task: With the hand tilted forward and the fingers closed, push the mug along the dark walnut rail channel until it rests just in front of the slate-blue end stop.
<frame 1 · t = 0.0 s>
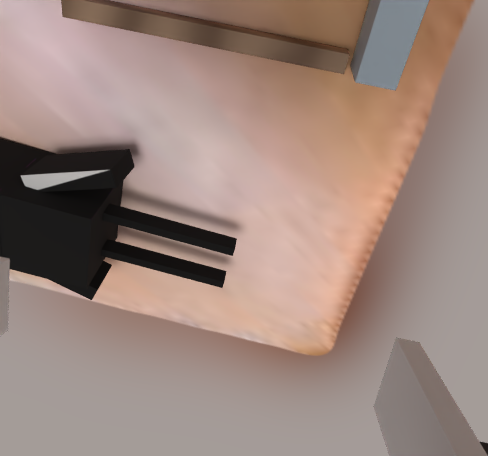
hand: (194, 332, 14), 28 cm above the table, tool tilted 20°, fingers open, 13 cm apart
black power adapter: (104, 197, 46), on the table
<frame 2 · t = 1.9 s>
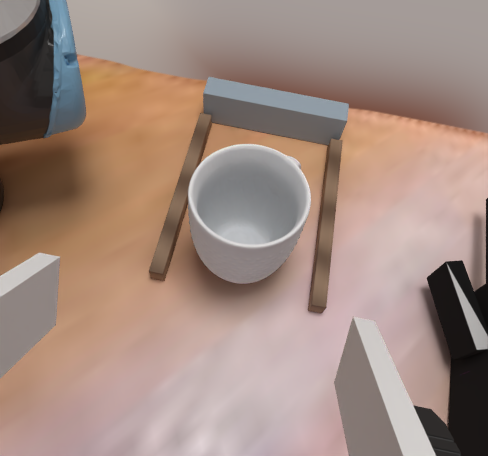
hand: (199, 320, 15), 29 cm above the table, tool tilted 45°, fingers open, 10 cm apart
black power adapter: (487, 332, 46), on the table
mug: (245, 248, 49), on the table
channel: (261, 172, 54), on the table
stop: (271, 125, 58), on the table
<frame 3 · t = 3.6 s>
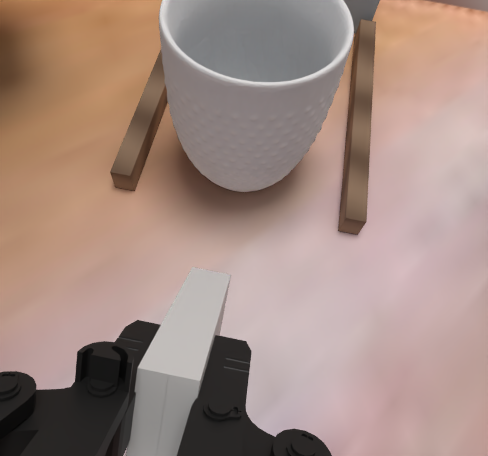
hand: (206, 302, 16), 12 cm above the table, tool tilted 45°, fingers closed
mug: (249, 152, 35), on the table
channel: (269, 61, 40), on the table
stop: (280, 10, 44), on the table
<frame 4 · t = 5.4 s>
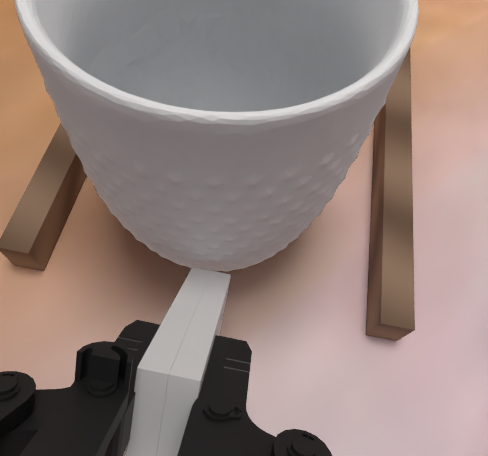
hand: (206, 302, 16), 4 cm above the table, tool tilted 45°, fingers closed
mug: (228, 200, 24), on the table, touching gripper
channel: (259, 65, 29), on the table
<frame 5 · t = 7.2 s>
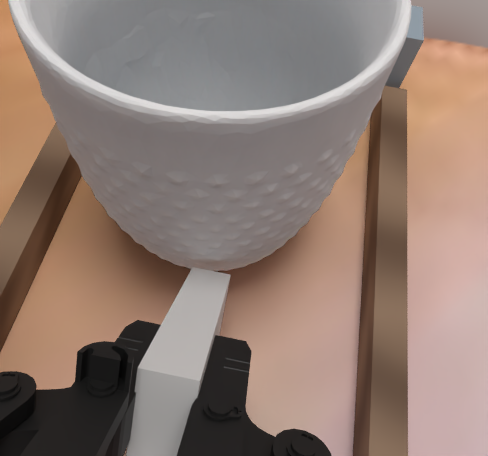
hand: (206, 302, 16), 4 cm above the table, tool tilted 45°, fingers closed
mug: (224, 199, 24), on the table, touching gripper
channel: (233, 156, 25), on the table
stop: (256, 64, 29), on the table
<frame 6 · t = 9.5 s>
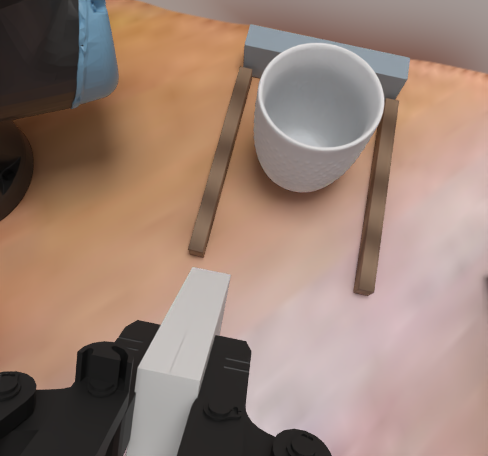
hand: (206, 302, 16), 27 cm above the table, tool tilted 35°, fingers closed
mug: (302, 158, 49), on the table
channel: (306, 136, 49), on the table
stop: (318, 80, 52), on the table
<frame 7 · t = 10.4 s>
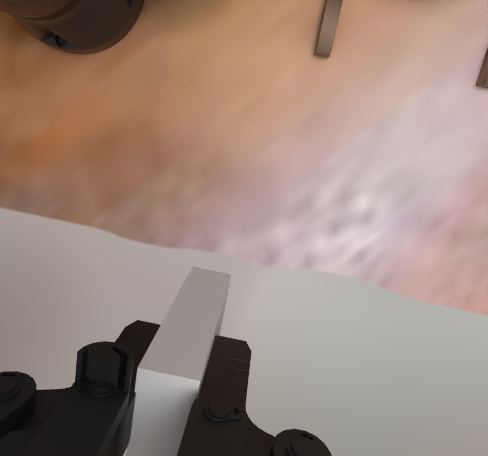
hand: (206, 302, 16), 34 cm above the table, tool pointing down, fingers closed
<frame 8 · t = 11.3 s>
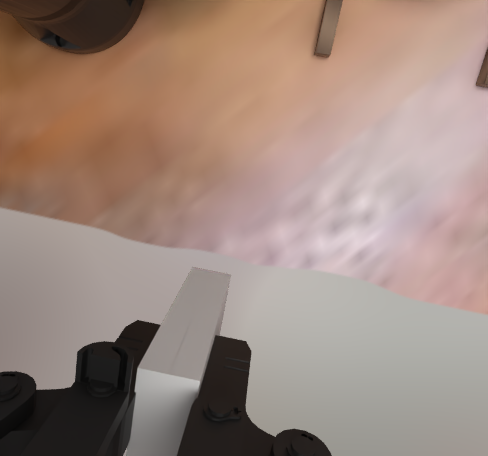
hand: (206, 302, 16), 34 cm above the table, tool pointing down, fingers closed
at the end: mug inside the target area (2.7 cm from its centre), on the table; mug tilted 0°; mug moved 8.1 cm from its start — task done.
